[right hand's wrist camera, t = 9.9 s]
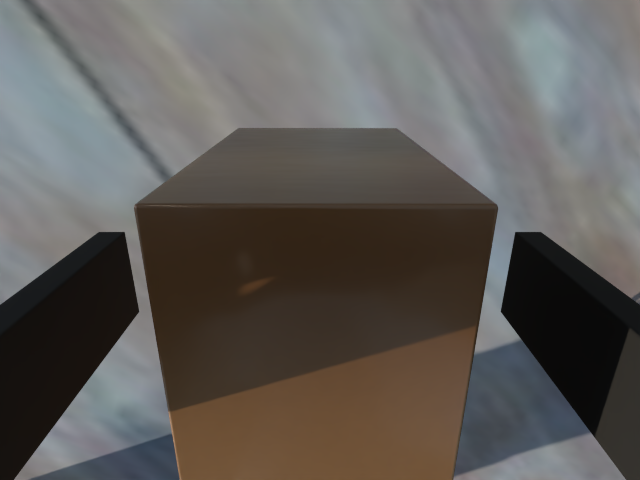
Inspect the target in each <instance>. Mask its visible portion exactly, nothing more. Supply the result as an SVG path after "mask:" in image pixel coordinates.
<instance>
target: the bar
mask: <svg viewBox="0 0 640 480" xmlns="http://www.w3.org/2000/svg"><path fill="white" fill-rule="evenodd" d="M134 210H135V216H136V222H137V228H138V234H139V240H140V246H141V252H142V258H143V264H144V269H145V275H146V281H147V287H148V293H149V299H150V305H151V311H152V317H153V323H154V329H155V335H156V341H157V347H158V353H159V359H160V364H161V370H162V376H163V382H164V388H165V394H166V400H167V406H168V412H169V418H170V424H171V430H172V436H173V442H174V448H175V454H176V459H177V465H178V471H179V477H180V480H453V477H454V471H455V465H456V459H457V453H458V447H459V441H460V435H461V429H462V423H463V417H464V411H465V405H466V399H467V393H468V387H469V380H470V374H471V368H472V362H473V356H474V350H475V344H476V338H477V332H478V326H479V320H480V314H481V308H482V302H483V296H484V290H485V284H486V278H487V272H488V266H489V260H490V254H491V248H492V242H493V236H494V230H495V224H496V218H497V212H498V206H497V204H495V203H494V202H493V201H491V200H490V199H489V198H488V197H486V196H485V195H484V194H482V193H481V192H480V191H478V190H477V189H476V188H474V187H473V186H472V185H470V184H469V183H468V182H467V181H465V180H464V179H463V178H461V177H460V176H459V175H457V174H456V173H455V172H453V171H452V170H451V169H449V168H448V167H447V166H446V165H444V164H443V163H442V162H440V161H439V160H438V159H436V158H435V157H434V156H432V155H431V154H430V153H428V152H427V151H426V150H425V149H423V148H422V147H421V146H419V145H418V144H417V143H415V142H414V141H413V140H411V139H410V138H409V137H407V136H406V135H405V134H404V133H402V132H401V131H400V130H398V129H396V128H238V129H237V130H235V131H234V132H233V133H231V134H230V135H229V136H227V137H226V138H224V139H223V140H222V141H220V142H219V143H218V144H216V145H215V146H214V147H212V148H211V149H210V150H208V151H207V152H205V153H204V154H203V155H201V156H200V157H199V158H197V159H196V160H195V161H193V162H192V163H191V164H189V165H188V166H186V167H185V168H184V169H182V170H181V171H180V172H178V173H177V174H176V175H174V176H173V177H171V178H170V179H169V180H167V181H166V182H165V183H163V184H162V185H161V186H159V187H158V188H157V189H155V190H154V191H152V192H151V193H150V194H148V195H147V196H146V197H144V198H143V199H142V200H140V201H139V202H138V203H136V204H135V207H134Z"/></svg>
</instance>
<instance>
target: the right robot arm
mask: <svg viewBox="0 0 640 480" xmlns="http://www.w3.org/2000/svg"><path fill="white" fill-rule="evenodd" d="M138 313H139V308H138V303H137V297H136V292H135V286H134V281H133V275H132V270H131V265H130V259H129V254H128V248H127V243H126V237H125V232H99V233H97V234H96V235H94V236H93V237H92V238H90V239H89V240H88V241H86V242H85V243H84V244H82V245H81V246H80V247H78V248H77V249H75V250H74V251H73V252H71V253H70V254H69V255H67V256H66V257H65V258H63V259H62V260H61V261H59V262H58V263H56V264H55V265H54V266H52V267H51V268H50V269H48V270H47V271H46V272H44V273H43V274H42V275H40V276H39V277H38V278H36V279H35V280H33V281H32V282H31V283H29V284H28V285H27V286H25V287H24V288H23V289H21V290H20V291H19V292H17V293H16V294H14V295H13V296H12V297H10V298H9V299H8V300H6V301H5V302H4V303H2V304H1V305H0V480H14V479H15V477H16V476H17V475H18V473H19V472H20V471H21V469H22V468H23V467H24V465H25V464H26V463H27V461H28V460H29V459H30V457H31V456H32V455H33V453H34V452H35V451H36V449H37V448H38V446H39V445H40V444H41V442H42V441H43V440H44V438H45V437H46V436H47V434H48V433H49V432H50V430H51V429H52V428H53V426H54V425H55V424H56V422H57V421H58V420H59V418H60V417H61V416H62V414H63V413H64V412H65V410H66V409H67V408H68V406H69V405H70V404H71V402H72V401H73V400H74V398H75V397H76V396H77V394H78V393H79V392H80V390H81V389H82V388H83V386H84V385H85V384H86V382H87V381H88V380H89V378H90V377H91V375H92V374H93V373H94V371H95V370H96V369H97V367H98V366H99V365H100V363H101V362H102V361H103V359H104V358H105V357H106V355H107V354H108V353H109V351H110V350H111V349H112V347H113V346H114V345H115V343H116V342H117V341H118V339H119V338H120V337H121V335H122V334H123V333H124V331H125V330H126V329H127V327H128V326H129V325H130V323H131V322H132V321H133V319H134V318H135V317H136V315H137V314H138ZM501 313H502V314H503V315H504V317H505V318H506V319H507V321H508V322H509V323H510V325H511V326H512V327H513V329H514V330H515V331H516V333H517V334H518V335H519V337H520V338H521V339H522V341H523V342H524V343H525V345H526V346H527V347H528V349H529V350H530V351H531V353H532V354H533V355H534V357H535V358H536V359H537V361H538V362H539V363H540V365H541V366H542V367H543V369H544V370H545V371H546V373H547V374H548V375H549V377H550V378H551V380H552V381H553V382H554V384H555V385H556V386H557V388H558V389H559V390H560V392H561V393H562V394H563V396H564V397H565V398H566V400H567V401H568V402H569V404H570V405H571V406H572V408H573V409H574V410H575V412H576V413H577V414H578V416H579V417H580V418H581V420H582V421H583V422H584V424H585V425H586V426H587V428H588V429H589V430H590V432H591V433H592V434H593V436H594V437H595V438H596V440H597V441H598V442H599V444H600V445H601V447H602V448H603V449H604V451H605V452H606V453H607V455H608V456H609V457H610V459H611V460H612V461H613V463H614V464H615V465H616V467H617V468H618V469H619V471H620V472H621V473H622V475H623V476H624V477H625V479H626V480H640V305H639V304H638V303H636V302H635V301H634V300H632V299H631V298H630V297H628V296H627V295H626V294H624V293H623V292H621V291H620V290H619V289H617V288H616V287H615V286H613V285H612V284H611V283H609V282H608V281H607V280H605V279H604V278H602V277H601V276H600V275H598V274H597V273H596V272H594V271H593V270H592V269H590V268H589V267H588V266H586V265H585V264H583V263H582V262H581V261H579V260H578V259H577V258H575V257H574V256H573V255H571V254H570V253H569V252H567V251H566V250H564V249H563V248H562V247H560V246H559V245H558V244H556V243H555V242H554V241H552V240H551V239H550V238H548V237H547V236H546V235H544V234H543V233H541V232H515V237H514V243H513V248H512V254H511V259H510V264H509V270H508V275H507V281H506V286H505V292H504V297H503V303H502V308H501Z"/></svg>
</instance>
